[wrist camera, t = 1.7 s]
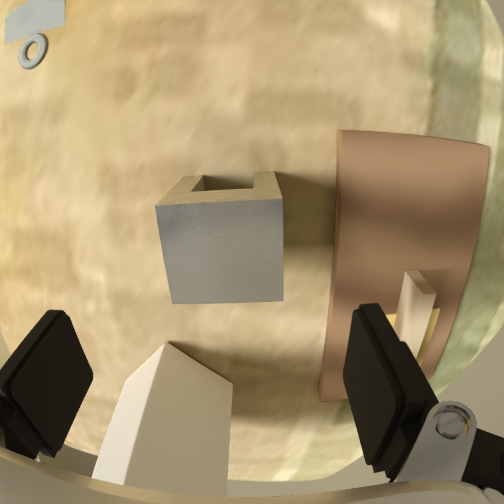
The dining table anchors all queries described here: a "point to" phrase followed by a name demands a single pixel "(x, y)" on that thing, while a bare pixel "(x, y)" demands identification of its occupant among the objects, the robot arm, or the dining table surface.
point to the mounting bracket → (33, 26)
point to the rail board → (401, 240)
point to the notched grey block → (223, 241)
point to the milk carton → (170, 428)
